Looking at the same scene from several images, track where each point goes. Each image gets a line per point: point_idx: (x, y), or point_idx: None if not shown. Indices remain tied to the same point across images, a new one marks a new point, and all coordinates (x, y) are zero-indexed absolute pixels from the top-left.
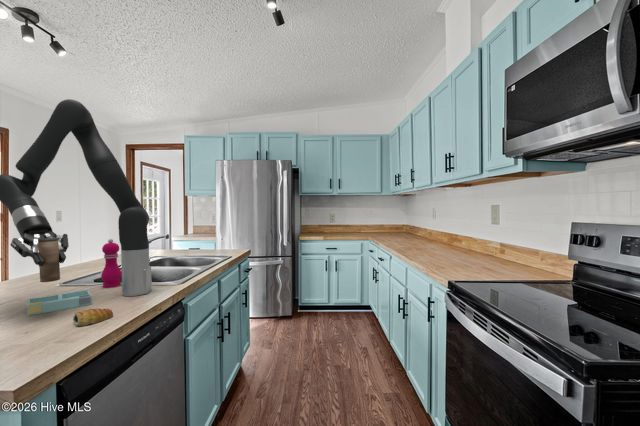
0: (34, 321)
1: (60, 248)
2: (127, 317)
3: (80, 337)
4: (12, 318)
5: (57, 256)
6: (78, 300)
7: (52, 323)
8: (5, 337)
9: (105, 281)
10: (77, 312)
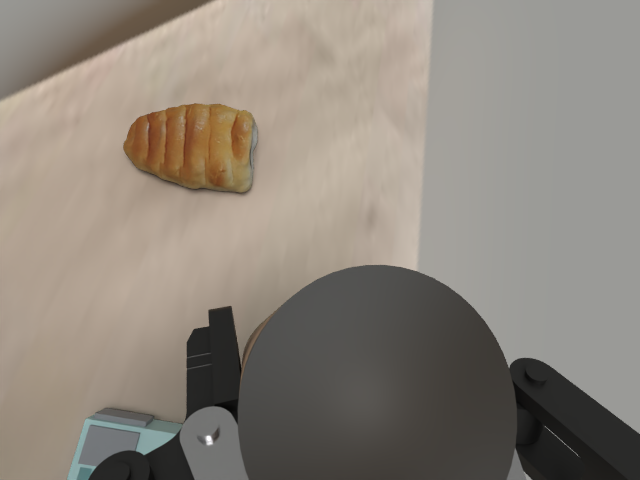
0: None
1: (210, 415)
2: (108, 79)
3: (279, 35)
4: None
5: (266, 319)
6: (150, 425)
7: (298, 247)
8: (419, 224)
9: None
10: (247, 132)
